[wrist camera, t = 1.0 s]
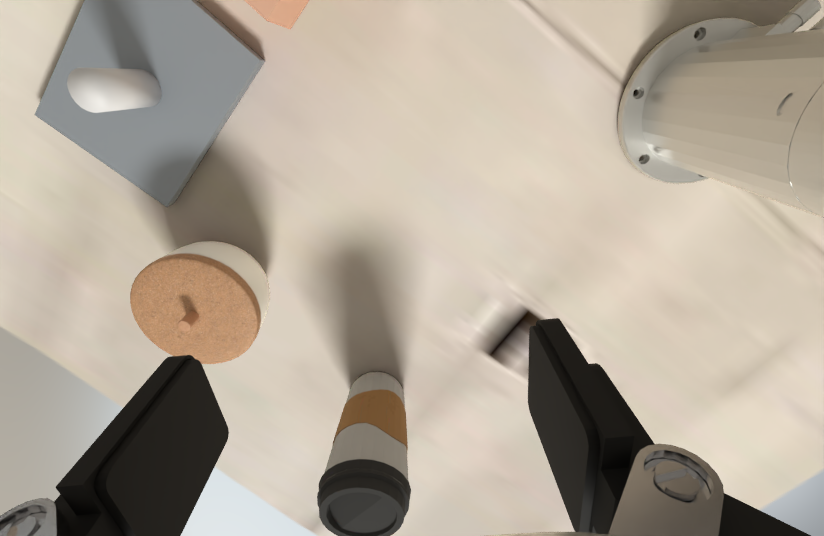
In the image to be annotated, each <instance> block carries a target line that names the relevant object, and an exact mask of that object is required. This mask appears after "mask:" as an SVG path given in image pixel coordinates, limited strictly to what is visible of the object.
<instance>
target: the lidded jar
mask: <svg viewBox="0 0 824 536" xmlns="http://www.w3.org/2000/svg"><path fill="white" fill-rule="evenodd" d="M269 301H270V288H269V283H268V279H267V277H266V274H265V272H264V271H263V269H262V267H261V266H260V264H259V263H258V262H257V261H256V260H255V259H254V258H253V257H252V256H251V255H250V254H248V253H247V252H246V251H244V250H242V249H240V248H238V247H236V246H234V245H231V244H227V243H224V242H217V241H203V242H197V243H193V244H189V245H186V246H183V247H180V248H178V249H176V250H174V251H172V252H170V253H169V254H167V255H165V256H164V257H162V258H160V259H158V260H156V261H154V262H152V263H151V264H149V265H148V266H147V267H145V268H144V269H143V270H142V271H141V272H140V273H139V274H138V276H137V277H136V278H135V281H134V283H133V285H132V289H131V294H130V303H131V308H132V312H133V315H134V318H135V320H136V322H137V324H138V325H139V327H140V328H141V330H142V331H143V333H144V334H145V335H146V336H147V337H148V338H149V339H150V340H151V341H152V342H153V343H154V344H155V345H157V346H158V347H159V348H161V349H162V350H164V351H165V352H167V353H169V354H171V355H173V356H182V355H192V356H193V357H194V358H195V359H197V360H199V361H200V362H201V364H216V363H222V362H226V361H230V360H232V359H234V358H237V357H239V356H240V355H241V354H243V353H244V352H245V351H246V350H247V349H248V348H249V347H250V346H251V344H252V343H253V341H254V340H255V338H256V337H257V334H258V332H259V329H260V328H261V326H262V324H263V322H264V319H265V317H266V314H267V311H268V307H269Z"/></svg>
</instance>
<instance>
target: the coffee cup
mask: <svg viewBox="0 0 824 536" xmlns="http://www.w3.org/2000/svg"><path fill="white" fill-rule="evenodd" d="M407 449H408V447H407V428H406V412H405V404H404V392H403V388H402V387H401V385H400V384H399V382H398V381H397V380H396V379H395V378H394V377H393V376H391V375H389V374H387V373H383V372H369V373H366V374H364V375H362V376H361V377H359V378H358V379H357V380H356V381H355V382H354V383H353V384H352V386H351V389H350V392H349V395H348V398H347V402H346V404H345V407H344V409H343V412H342V416H341V419H340V422H339V425H338V428H337V432H336V435H335V438H334V441H333V447H332V450H331V454H330V457H329V460H328V463H327V467H326V470H325V473H324V474H323V476H322V477H321V480H320V482H319V492H318V496H317V499H318V506H319V515H320V519H321V521H322V523H323V524H324V526H325V527H326V528H327V529H328V530H329V531H331V532H332V533H334V534H336V535H338V536H390V535H392V534H394V533H395V532H396V531H397V530H398V529H399V528H400V527H401V525H402V523H403V521H404V517H405V515H406V513H407V511H408V508H409V499H410V493H411V488H410V485H409V482H408V466H407Z"/></svg>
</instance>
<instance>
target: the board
mask: <svg viewBox="0 0 824 536" xmlns="http://www.w3.org/2000/svg"><path fill="white" fill-rule="evenodd" d="M264 62H265V60H264V59H263V58H261V57H260V56H259V55H258V54H257V53H256V52H255V51H253V50H252V49H251V48H250V47H249V46H248V45H247V44H245V43H244V42H243V41H242V40H241V39H240V38H239V37H237V36H236V35H235V34H234V33H233V32H232V31H231V30H229V29H228V28H227V27H226V26H225V25H224V24H223V23H221V22H220V21H219V20H218V19H217V18H216V17H215V16H213V15H212V14H211V13H210V12H209V11H208V10H207V9H205V8H204V7H203V6H202V5H201V4H200V3H199V2H197V1H196V0H85V1H84V3H83V5H82V7H81V10H80V12H79V14H78V17H77V19H76V21H75V23H74V26H73V28H72V30H71V33H70V35H69V37H68V40H67V42H66V44H65V46H64V49H63V51H62V53H61V56H60V58H59V60H58V62H57V65H56V67H55V69H54V72H53V74H52V76H51V78H50V81H49V83H48V85H47V88H46V90H45V92H44V95H43V97H42V99H41V101H40V104H39V106H38V108H37V111H36V113H35V115H36V116H37V117H38V118H40V119H41V120H43V121H44V122H46V123H47V124H48V125H50V126H51V127H53V128H54V129H56V130H57V131H58V132H60V133H61V134H63V135H64V136H66V137H67V138H68V139H70V140H71V141H73V142H74V143H76V144H77V145H79V146H80V147H81V148H83V149H84V150H86V151H87V152H89V153H90V154H91V155H93V156H94V157H96V158H97V159H99V160H100V161H101V162H103V163H104V164H106V165H107V166H109V167H110V168H111V169H113V170H114V171H116V172H117V173H119V174H120V175H121V176H123V177H124V178H126V179H127V180H129V181H130V182H132V183H133V184H134V185H136V186H137V187H139V188H140V189H142V190H143V191H144V192H146V193H147V194H149V195H150V196H152V197H153V198H154V199H156V200H157V201H159V202H160V203H162V204H163V205H164V206H166V207H168V206H170V205H172V204H174V203H175V201H176V199H177V198H178V196H179V195H180V193H181V192H182V190H183V188H184V187H185V185H186V184H187V182H188V181H189V179H190V178H191V176H192V174H193V173H194V171H195V170H196V168H197V167H198V165H199V163H200V162H201V160H202V159H203V157H204V156H205V154H206V153H207V151H208V149H209V148H210V146H211V145H212V143H213V142H214V140H215V138H216V137H217V135H218V134H219V132H220V131H221V129H222V128H223V126H224V124H225V123H226V121H227V120H228V118H229V117H230V115H231V113H232V112H233V110H234V109H235V107H236V106H237V104H238V102H239V101H240V99H241V98H242V96H243V95H244V93H245V92H246V90H247V88H248V87H249V85H250V84H251V82H252V81H253V79H254V77H255V76H256V74H257V73H258V71H259V70H260V68H261V67H262V65H263V63H264Z"/></svg>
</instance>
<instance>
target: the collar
mask: <svg viewBox="0 0 824 536" xmlns="http://www.w3.org/2000/svg"><path fill="white" fill-rule="evenodd" d="M245 1H246V2H247V3H248V4H249V5H250V6H251V7H252V8H253V9H255V10H256V11H257V12H258V13H259V14H260V15H261V16H262V17H263V18H264V19H266V20H267V21H269V22H272V23H275V24H277V25H280V26H283V27H285V28H288V29H291V28H292V26H293V24H294V23H295V21H296V20H297V18H298V17H299V15H300V14H301V12H302V10H303V9H304V7H305V6H306V4H307V3H308V1H309V0H245Z"/></svg>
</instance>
